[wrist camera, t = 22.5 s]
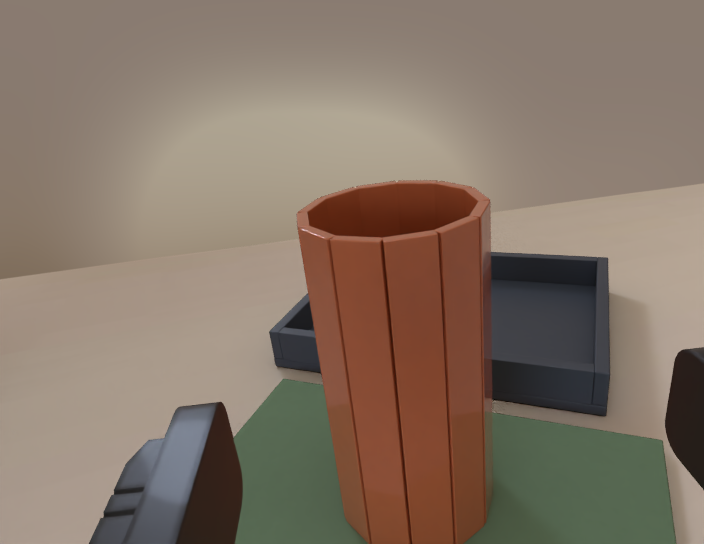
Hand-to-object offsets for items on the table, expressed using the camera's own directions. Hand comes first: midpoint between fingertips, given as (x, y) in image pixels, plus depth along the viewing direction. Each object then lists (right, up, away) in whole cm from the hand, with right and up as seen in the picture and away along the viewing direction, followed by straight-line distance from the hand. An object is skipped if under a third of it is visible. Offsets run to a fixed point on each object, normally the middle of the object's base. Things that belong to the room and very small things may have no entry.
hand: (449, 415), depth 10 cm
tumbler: (+1, -7, +14) cm, 16 cm away
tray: (+5, -1, +27) cm, 28 cm away
